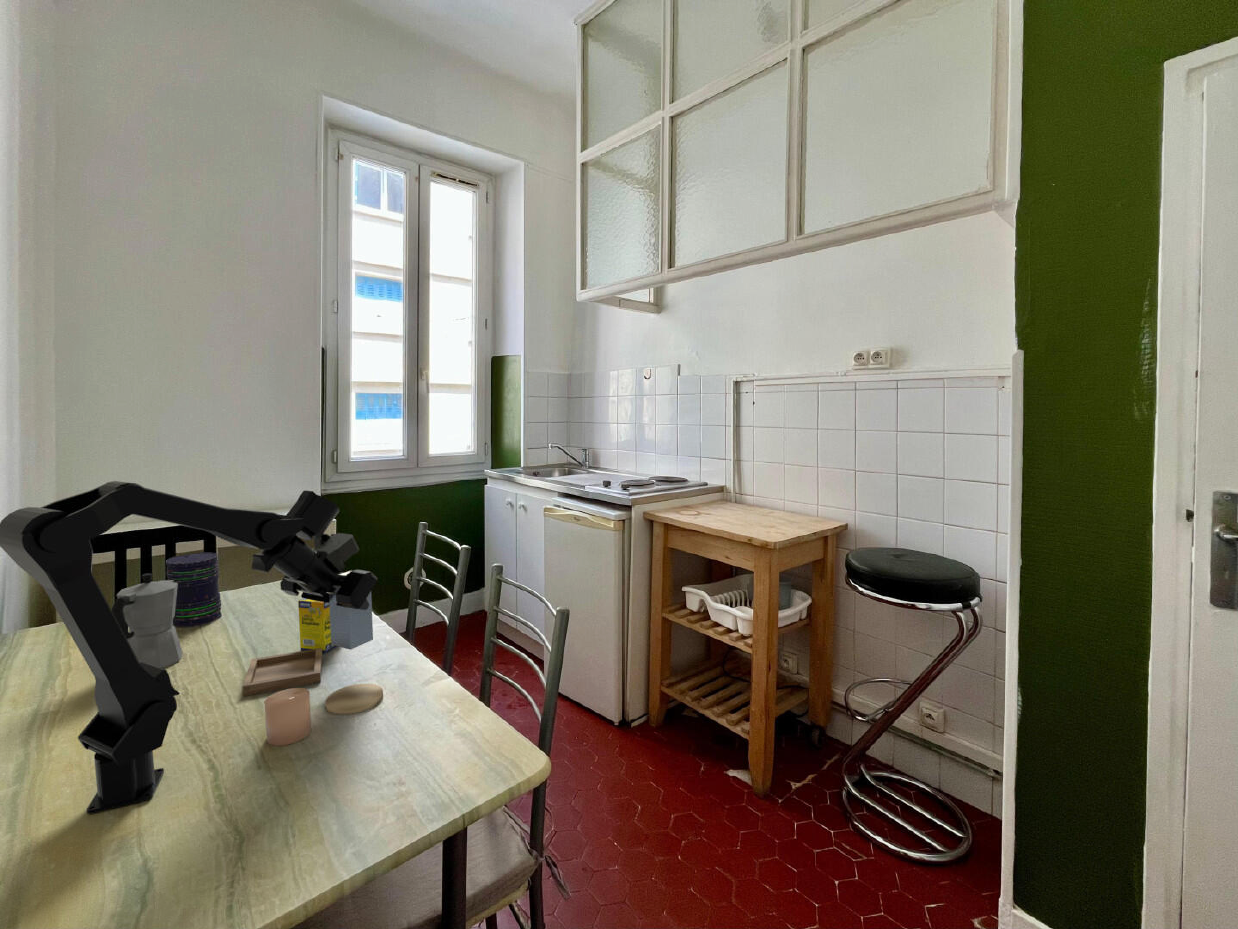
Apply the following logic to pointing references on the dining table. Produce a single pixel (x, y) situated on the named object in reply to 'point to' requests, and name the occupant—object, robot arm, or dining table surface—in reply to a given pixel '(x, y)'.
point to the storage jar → (195, 588)
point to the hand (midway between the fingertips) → (357, 605)
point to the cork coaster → (354, 699)
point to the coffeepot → (150, 621)
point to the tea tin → (350, 623)
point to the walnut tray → (283, 671)
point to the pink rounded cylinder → (287, 716)
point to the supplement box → (314, 625)
